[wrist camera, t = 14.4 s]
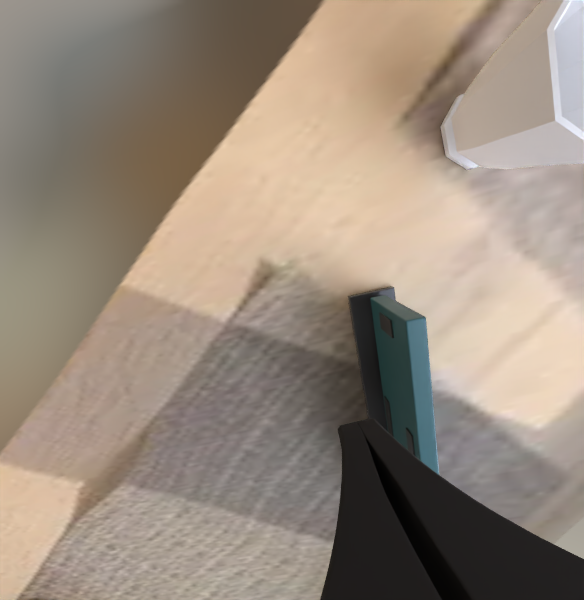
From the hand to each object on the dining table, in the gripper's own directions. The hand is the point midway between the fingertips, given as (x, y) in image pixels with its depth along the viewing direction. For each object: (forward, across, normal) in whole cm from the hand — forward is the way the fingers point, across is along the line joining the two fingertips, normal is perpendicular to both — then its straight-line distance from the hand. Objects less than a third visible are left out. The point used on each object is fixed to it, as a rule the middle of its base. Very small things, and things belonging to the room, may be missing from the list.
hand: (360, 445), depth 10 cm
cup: (+10, -13, -12) cm, 20 cm away
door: (+9, -4, +3) cm, 10 cm away
